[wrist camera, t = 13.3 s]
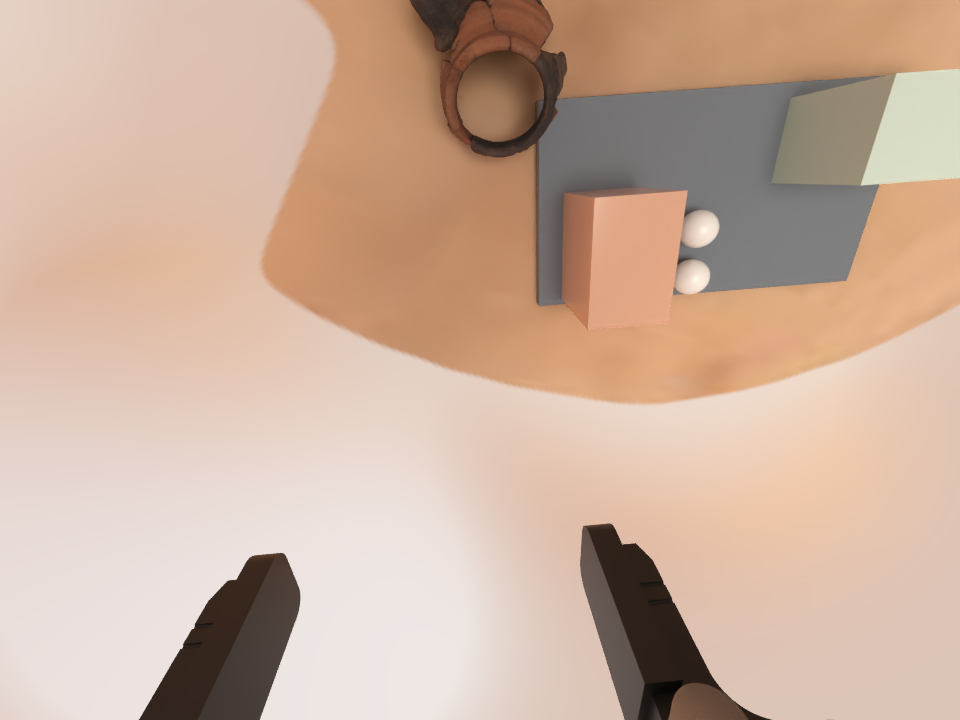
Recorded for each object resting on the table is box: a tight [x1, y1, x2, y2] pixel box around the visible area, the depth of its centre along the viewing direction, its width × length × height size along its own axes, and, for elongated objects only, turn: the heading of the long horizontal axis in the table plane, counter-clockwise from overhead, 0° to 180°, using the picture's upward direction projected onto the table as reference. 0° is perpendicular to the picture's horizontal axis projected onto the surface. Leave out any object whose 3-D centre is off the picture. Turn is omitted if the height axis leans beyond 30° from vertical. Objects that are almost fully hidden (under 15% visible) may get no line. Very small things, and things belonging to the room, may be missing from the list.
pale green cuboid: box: [771, 69, 960, 186], centre depth 28 cm, size 9×6×8 cm, turn 94°
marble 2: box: [674, 259, 710, 294], centre depth 34 cm, size 3×3×3 cm
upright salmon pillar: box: [561, 187, 688, 330], centre depth 30 cm, size 9×6×8 cm, turn 4°
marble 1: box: [681, 210, 719, 248], centre depth 32 cm, size 3×3×3 cm
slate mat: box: [536, 76, 883, 306], centre depth 33 cm, size 16×29×1 cm, turn 94°
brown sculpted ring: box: [410, 0, 567, 157], centre depth 27 cm, size 12×10×8 cm
